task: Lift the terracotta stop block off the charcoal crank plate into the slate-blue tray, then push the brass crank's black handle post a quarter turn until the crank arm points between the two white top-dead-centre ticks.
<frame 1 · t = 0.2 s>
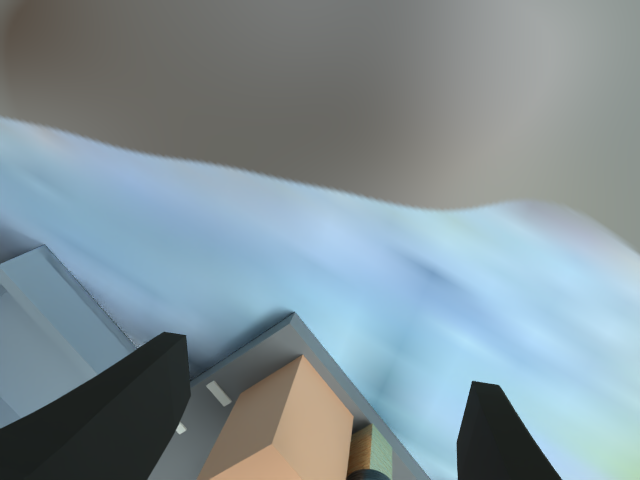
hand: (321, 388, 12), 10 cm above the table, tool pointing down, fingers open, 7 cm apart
tray: (51, 356, 26), on the table
crank plate: (275, 473, 26), on the table
stop block: (296, 404, 23), point 1 cm above the table, touching crank plate
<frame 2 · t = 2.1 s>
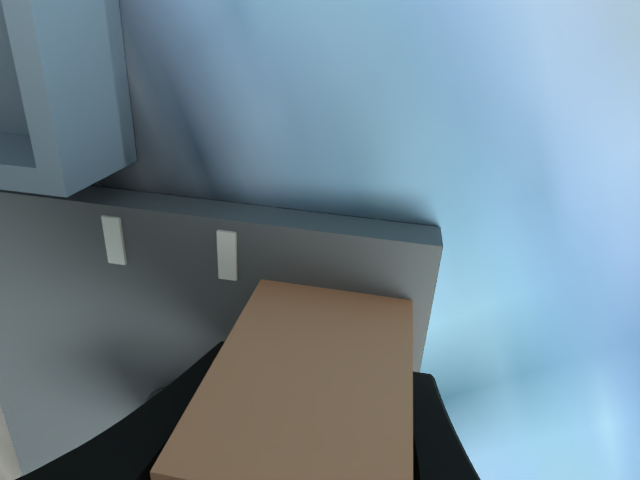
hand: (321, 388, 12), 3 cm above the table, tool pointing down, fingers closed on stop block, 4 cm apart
crank plate: (200, 387, 16), on the table
stop block: (330, 350, 13), point 1 cm above the table, touching crank plate, gripper
when the fingers open (4 cm above the table, at t = 5.6 s): stop block drops 2 cm, resting on tray.
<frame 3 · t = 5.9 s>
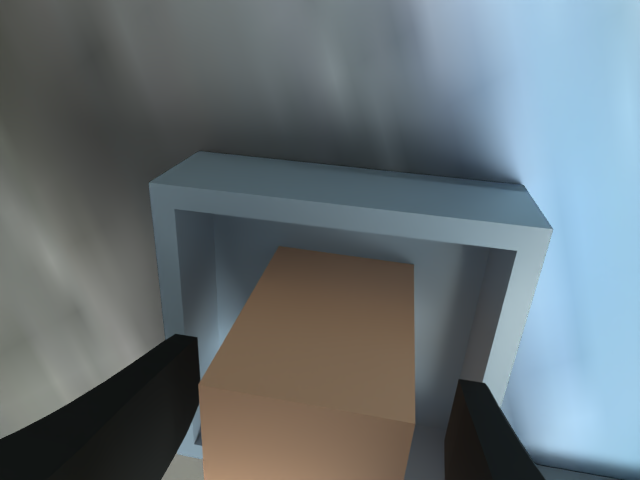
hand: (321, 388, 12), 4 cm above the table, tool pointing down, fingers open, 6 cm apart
tray: (341, 304, 15), on the table
stop block: (339, 311, 15), point 1 cm above the table, touching tray
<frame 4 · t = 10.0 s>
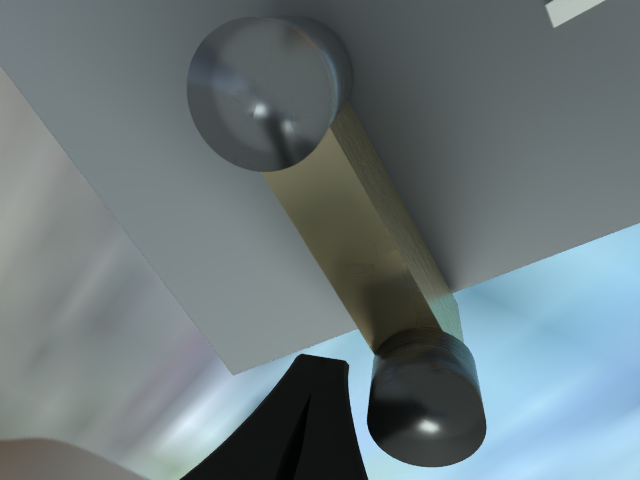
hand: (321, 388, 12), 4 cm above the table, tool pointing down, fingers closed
crank: (352, 227, 10), point 4 cm above the table, hinge at 0.0°, touching gripper
crank plate: (310, 71, 12), on the table
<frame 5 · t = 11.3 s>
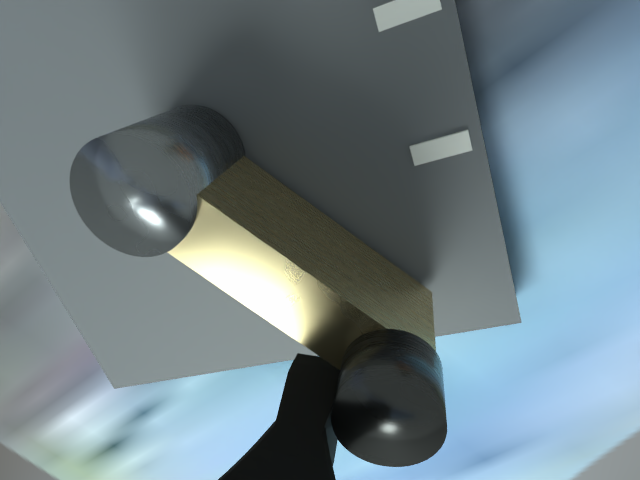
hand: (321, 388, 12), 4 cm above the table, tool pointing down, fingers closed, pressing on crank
crank: (274, 266, 11), point 4 cm above the table, hinge at 36.4°, touching gripper
crank plate: (218, 142, 14), on the table
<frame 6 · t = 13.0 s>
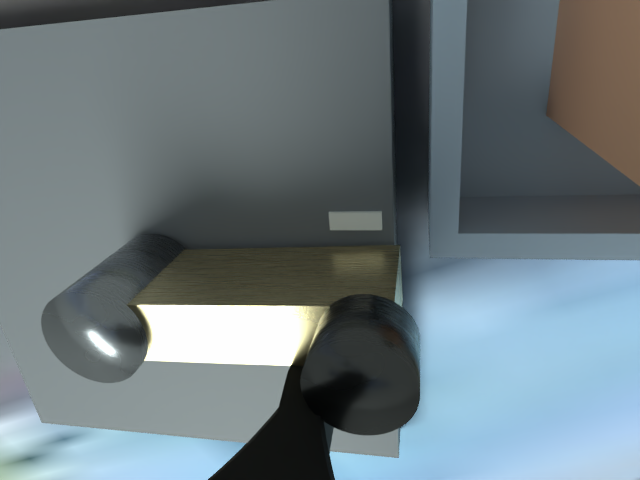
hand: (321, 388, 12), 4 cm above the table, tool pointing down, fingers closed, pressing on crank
crank: (231, 317, 12), point 4 cm above the table, hinge at 91.8°, touching gripper
crank plate: (181, 252, 16), on the table
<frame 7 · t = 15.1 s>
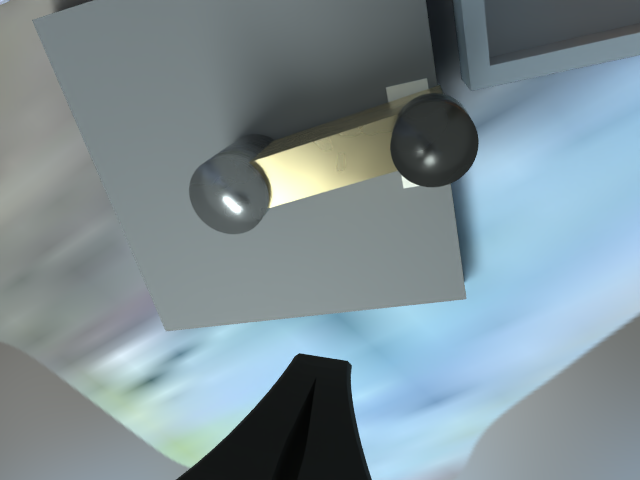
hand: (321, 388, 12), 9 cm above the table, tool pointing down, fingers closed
crank: (325, 160, 15), point 4 cm above the table, hinge at 96.2°
crank plate: (267, 158, 19), on the table
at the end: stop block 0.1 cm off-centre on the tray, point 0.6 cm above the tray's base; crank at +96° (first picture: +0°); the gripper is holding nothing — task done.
